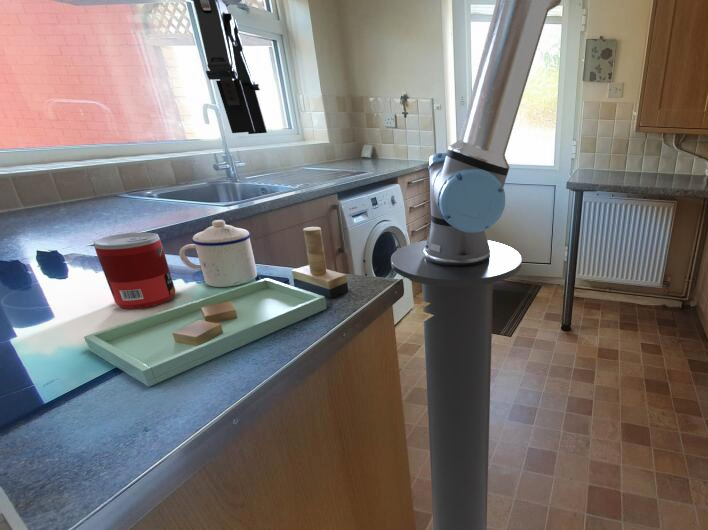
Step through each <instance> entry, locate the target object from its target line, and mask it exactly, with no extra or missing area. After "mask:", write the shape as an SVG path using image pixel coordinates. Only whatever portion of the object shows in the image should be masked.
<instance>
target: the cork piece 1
mask: <svg viewBox="0 0 708 530" xmlns="http://www.w3.org/2000/svg"><path fill="white" fill-rule="evenodd" d="M222 333H223V330H222V326H221V324H218V323H212V322H206V321H200V320H198V321H196V322H194V323H192V324H189V325H187V326H185V327H183V328H181V329H179V330H177V331H175V332H173V333H172V334H173V337H174V340H175V342H178V343H184V344H189V345H195V346H199V345H201V344H204V343H205V342H207V341H209V340H211V339H213V338H215V337H216V336H218V335H220V334H222Z"/></svg>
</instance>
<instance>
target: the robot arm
mask: <svg viewBox="0 0 708 530" xmlns="http://www.w3.org/2000/svg"><path fill="white" fill-rule="evenodd" d="M186 2H189V3H193V6H194V9H195V12H196V16H197V21H198V26H199V31H200V35H201V39H202V44H203V49H204V53H205V59H206V63H207V65H206V66H207V69H208V70H205V73H206V76H207V78H208V80H210V81H211V80H212V81H213V80H215V82H216V86H217V89H218V92H219V95H220V99H221V101H222V105H223V109H224V111H225V115H226V117H227V121H228V125H229V127H230V130H231V133H232V134H241V133H242V134H243V133H247V134H248V135H256V134H257V135H258V134H267V133H268V131H267V127H266V123H265V120H264V116H263V112H262V109H261V105H260V102H259V98H258V94H257V91H261V88H260V84H259V83H256V82H255V81H254V78H253V75H252V72H251V69H250V66H249V63H248V60H247V57H246V54H245V51H244V48H243V42H242V39H241V37H240V34H239V25H238V23H237V20H236V18H235V17H233V14H232V13H229V11H228V8H227V7H228V6H230V5H231V6H234V5H238V4H239V3H242V0H186ZM561 2H562V0H496V1H495V5H494V9H493V13H492V15H491V19H490V20H491V21H490V23H489V27H488V31H487V35H486V38H485V42H484V46H483V50H482V52H481V53H482V54H481V56H480V57H481V58H480V61H479V65H478V67H477V72H476V75H475V80H474V83H473V87H472V90H471V95H470V98H469V102H468V105H467V110H466V114H465V116H464V121H463V125H462V129H461V132H460V136H459V139H458V140H457V141H456V142H453V143H452V144H451V145H449V146H448V148H447V151H446V152H435V153H432V154H430V156H429V161H428V162H429V163H428V164H429V165H428V169H427V170H428V171H429V194H430V195H429V197H430V228H429V230H428V234H427V237H426V240H427V241H426V244H425V248H424V257H425V259H426V260H427V261H429V262H431V263H433V264H436V265H441V266H448V267H467V266H474V265H479V264H482V263H484V262H486V261H488V260H489V259H490V246H489V243H488V241H489V240H488V236H487V233H486V230H488V229H490V228H491V227H493V226H494V225H495V224H497V222H498V221H499V220H500V218H501V217H502V215H503V213H504V211H505V207H506V191H505V189H504V186H505V184H506V180H507V177H508V174H509V170H510V165H509V162H508V161H507V158H506V152H507V148H508V145H509V141H510V139H511V136H512V132H513V129H514V125H515V122H516V119H517V116H518V112H519V109H520V106H521V103H522V99H523V96H524V92H525V89H526V86H527V82H528V79H529V76H530V73H531V69H532V66H533V62H534V59H535V56H536V52H537V50H538V46H539V44H540V40H541V36H542V33H543V30H544V27H545V23H546V20H547V16H548V14H549V12H550V11H551V10H553V9H555V8H556V7H558V6H559V5H560V4H561Z"/></svg>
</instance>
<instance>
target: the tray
mask: <svg viewBox="0 0 708 530" xmlns="http://www.w3.org/2000/svg"><path fill="white" fill-rule="evenodd" d="M229 301H230V302H231V303H232V305H233V306H234V308H235V310H236V313H237V317H238V318H235V319H231V320H227V321H223V322H219V323H218V324H221V326H222V330H223V333H222V334H220V335H218V336H216V337H215V338H213V339H211V340H209V341H207V342H205V343H204V344H201V345H199V346H195V345H189V344H184V343H178V342H175V340H174V337H173V334H172V333H173V332H175V331H177V330H179V329H181V328H183V327H185V326H187V325H189V324H192V323H194V322H196V321H198V320H200V321H205V320H204V318H203V315H202V312H201V307H206V306H210V305H215V304H219V303H224V302H229ZM324 310H327V301H326V297H325V296H322V295H319V294H316V293H313V292H310V291H307V290H303V289H300V288H297V287H295V286H294V285H290V284H288V283H284V282H281V281H278V280H275V279H272V278H269V277H265V278H262V279H259V280H255V281H251V282H248V283H245V284H242V285H239V286H237V287H233V288H231V289H228V290H225V291H221V292H218V293H215V294H212V295H209V296H206V297H203V298H199V299H196V300H194V301H190V302H186V303H184V304H180V305H178V306H174V307H171V308H168V309H165V310H162V311H159V312H155V313H153V314H149V315H147V316H144V317H143V316H142V317H140V318H136V319H134V320H131V321H127V322H124V323H122V324H118V325H115V326H112V327H109V328H106V329H102V330H99V331H96V332H94V333H89V334H87V335H84V336H83V338H84V340H85V342H86V345H87V347H88V349H89V352H91V353H93V354H94V355H96V356H98V357H100V358H101V359H103V360H104V361H106V362H108V363H109V364H111V365H112V366H114V367H115V368H118V369H119V370H121V371H122V372H124V373H126V374H127V375H129V376H130V377H132V378H134V379H135V380H136V381H138V382H140V383H142V384H144V385H145V386H146V387H148V388H150V387H152V386H154V385H157V384H159V383H161V382H164V381H166V380H167V379H170V378H173V377H175V376H177V375H179V374H181V373H184V372H187V371H189V370H190V369H192V368H195V367H198V366H199V365H202V364H204V363H207V362H209V361H210V360H214V359H216V358H218V357H220V356H222V355H225V354H227V353H229V352H232V351H234V350H236V349H238V348H240V347H243V346H245V345H247V344H250V343H252V342H254V341H257V340H259V339H261V338H263V337H265V336H268V335H270V334H272V333H275V332H277V331H279V330H281V329H283V328H286V327H289V326H291V325H293V324H295V323H297V322H300V321H302V320H304V319H307V318H309V317H311V316H313V315H315V314H318V313H320V312H322V311H324Z"/></svg>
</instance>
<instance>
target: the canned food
mask: <svg viewBox="0 0 708 530" xmlns="http://www.w3.org/2000/svg"><path fill="white" fill-rule="evenodd" d="M161 241H162V240H161V238H160V237H159V234H158V233H153V232H148V231H147V232H146V231H145V232H144V231H143V232H139V231H138V232H127V233H119V234H113V235H108V236H104V237H101V238H98V239H96V240H94V241H93V247H94V250H95V254H96V256H97V259H98V261H99V264H100V266H101V269H102V272H103V274H104V277H105V279H106V282H107V284H108V287H109V290H110V293H111V295H112V298H113V300H114V302H115V304H116V305H117V306H118V307H119V308H121V309H127V310H136V309H137V310H138V309H144V308H150V307H155V306H158V305H161V304H164V303H166V302H167V303H168V302H169V301H170V300H172V299H173V298H174V297H175V296H176V287H175V284H174V281H173V277H172V274H171V271H170V268H169V264H168V261H167V256H166V254H165V251H164V247H163V243H162V242H161Z"/></svg>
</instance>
